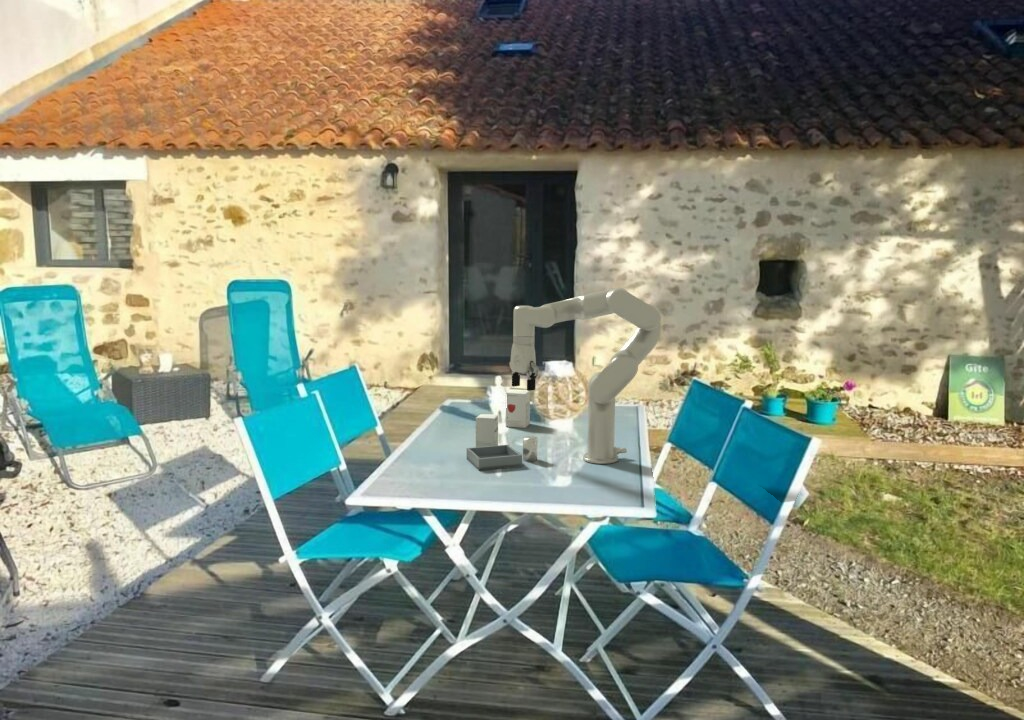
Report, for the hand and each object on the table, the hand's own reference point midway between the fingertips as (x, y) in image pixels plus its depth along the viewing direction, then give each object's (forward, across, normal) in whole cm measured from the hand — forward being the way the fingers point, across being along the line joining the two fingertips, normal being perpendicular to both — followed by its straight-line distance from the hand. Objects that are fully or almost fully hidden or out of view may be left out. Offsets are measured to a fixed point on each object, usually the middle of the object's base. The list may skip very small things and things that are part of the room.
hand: (523, 388), depth 274 cm
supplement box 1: (+26, -18, -4) cm, 32 cm away
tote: (+26, 0, -12) cm, 28 cm away
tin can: (+26, +4, +1) cm, 26 cm away
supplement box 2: (+26, -44, +27) cm, 58 cm away
